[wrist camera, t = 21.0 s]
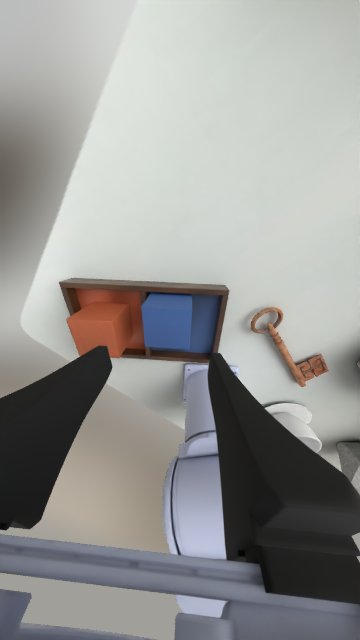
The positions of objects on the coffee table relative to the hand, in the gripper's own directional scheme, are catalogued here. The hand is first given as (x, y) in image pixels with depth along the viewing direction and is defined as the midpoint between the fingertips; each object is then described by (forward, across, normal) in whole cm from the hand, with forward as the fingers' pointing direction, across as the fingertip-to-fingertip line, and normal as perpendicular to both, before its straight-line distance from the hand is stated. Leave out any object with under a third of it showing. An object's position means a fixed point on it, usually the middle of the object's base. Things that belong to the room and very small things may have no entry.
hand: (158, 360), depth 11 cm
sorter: (+9, +3, +2) cm, 10 cm away
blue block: (+9, 0, 0) cm, 9 cm away
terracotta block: (+9, +7, +2) cm, 11 cm away
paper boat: (+10, -35, +29) cm, 46 cm away
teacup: (+10, -20, +21) cm, 30 cm away
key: (+9, -16, +5) cm, 19 cm away
